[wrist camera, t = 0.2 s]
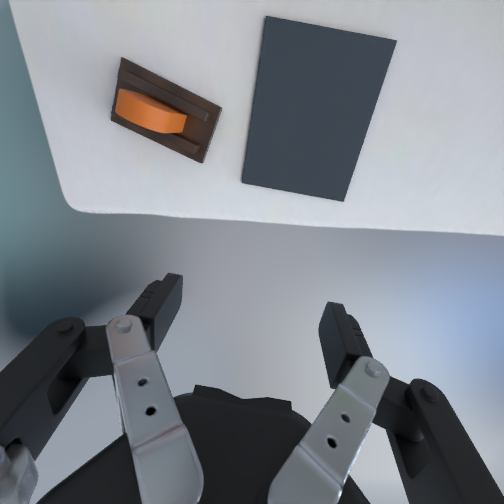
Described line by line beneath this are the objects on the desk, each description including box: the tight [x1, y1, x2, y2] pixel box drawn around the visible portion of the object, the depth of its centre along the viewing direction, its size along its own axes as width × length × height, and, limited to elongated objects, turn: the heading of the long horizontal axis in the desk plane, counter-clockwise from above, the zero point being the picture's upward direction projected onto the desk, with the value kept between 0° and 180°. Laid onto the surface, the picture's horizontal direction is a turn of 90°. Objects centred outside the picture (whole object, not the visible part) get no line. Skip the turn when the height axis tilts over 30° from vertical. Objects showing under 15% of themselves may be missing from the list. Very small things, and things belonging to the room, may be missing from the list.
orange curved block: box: [115, 88, 187, 133], centre depth 32 cm, size 6×2×9 cm, turn 65°
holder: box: [111, 57, 222, 163], centre depth 35 cm, size 14×8×3 cm, turn 65°
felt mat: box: [242, 16, 397, 202], centre depth 35 cm, size 20×16×1 cm
